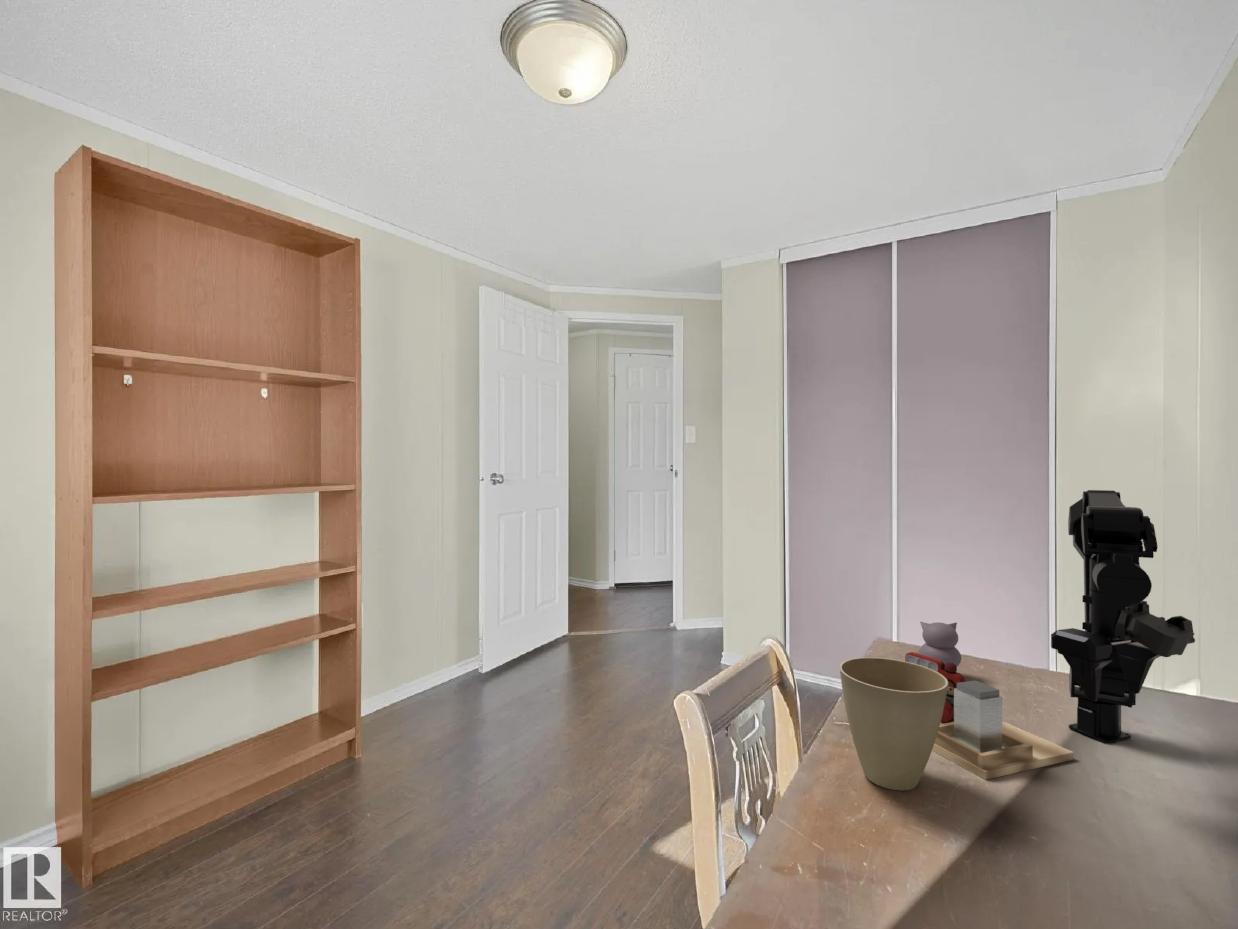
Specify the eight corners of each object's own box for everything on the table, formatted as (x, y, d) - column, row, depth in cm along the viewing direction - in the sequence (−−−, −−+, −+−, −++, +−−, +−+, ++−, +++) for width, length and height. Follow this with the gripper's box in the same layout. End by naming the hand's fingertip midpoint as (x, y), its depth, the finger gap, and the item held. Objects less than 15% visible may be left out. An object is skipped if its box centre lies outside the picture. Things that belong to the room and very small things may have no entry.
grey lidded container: (975, 739, 100) (975, 679, 100) (1002, 753, 96) (1002, 690, 96) (953, 742, 99) (954, 682, 99) (980, 757, 94) (980, 693, 94)
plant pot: (908, 818, 80) (909, 699, 80) (818, 770, 93) (819, 667, 93) (968, 786, 88) (969, 678, 88) (877, 746, 101) (878, 651, 101)
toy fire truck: (959, 730, 107) (959, 672, 107) (895, 706, 117) (895, 653, 117) (980, 721, 111) (980, 665, 111) (916, 698, 121) (916, 647, 121)
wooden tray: (1003, 728, 107) (1003, 710, 107) (1073, 759, 96) (1073, 739, 96) (921, 744, 101) (921, 725, 101) (985, 779, 90) (985, 758, 90)
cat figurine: (925, 681, 131) (925, 626, 131) (913, 669, 138) (913, 617, 138) (967, 683, 129) (967, 628, 129) (953, 671, 137) (953, 619, 137)
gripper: (1134, 608, 78) (1133, 728, 78) (1222, 598, 84) (1221, 709, 84) (1048, 591, 89) (1048, 696, 89) (1132, 583, 95) (1131, 682, 95)
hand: (1113, 696), depth 89 cm, fingers open, 9 cm apart
